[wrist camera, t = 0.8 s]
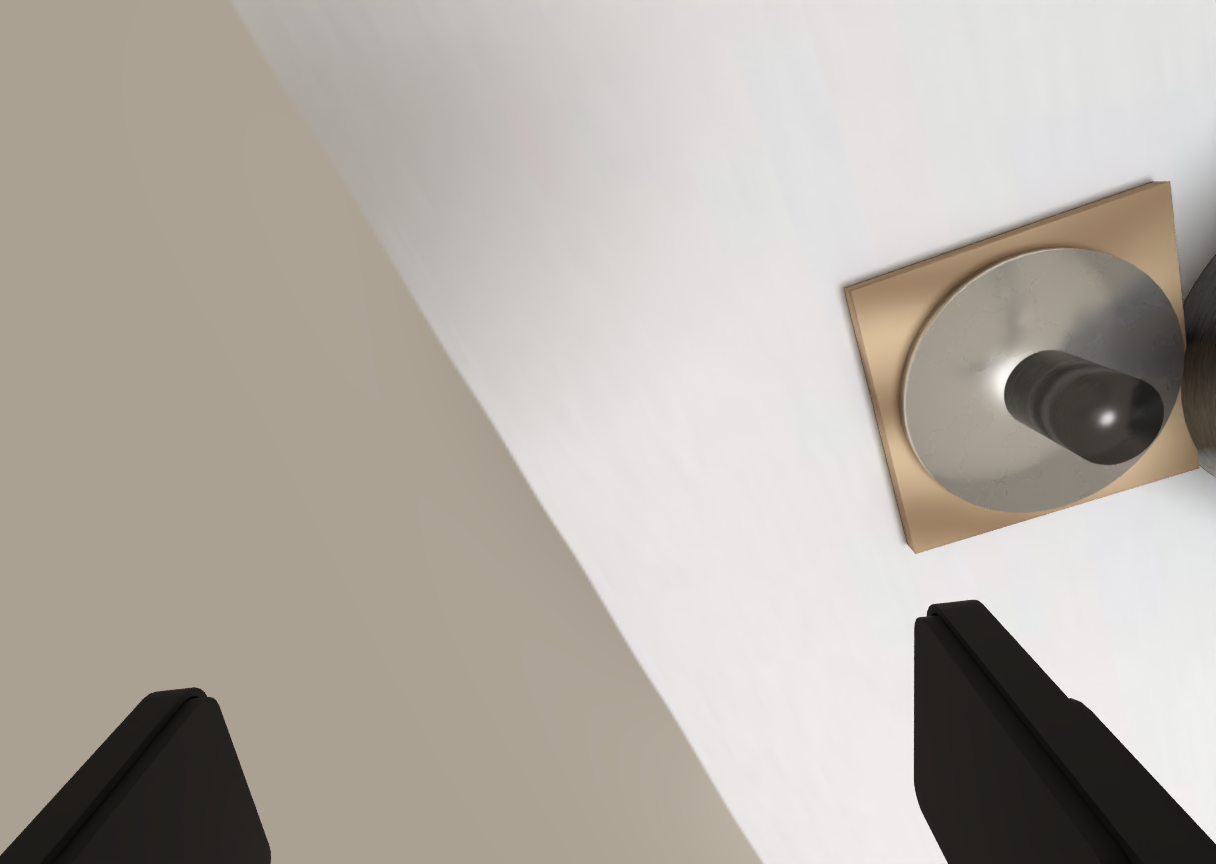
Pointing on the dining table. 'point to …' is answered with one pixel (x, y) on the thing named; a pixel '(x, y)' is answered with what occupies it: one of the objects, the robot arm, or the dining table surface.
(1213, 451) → the stockpot
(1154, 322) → the lid
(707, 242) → the dining table surface
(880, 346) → the plate
